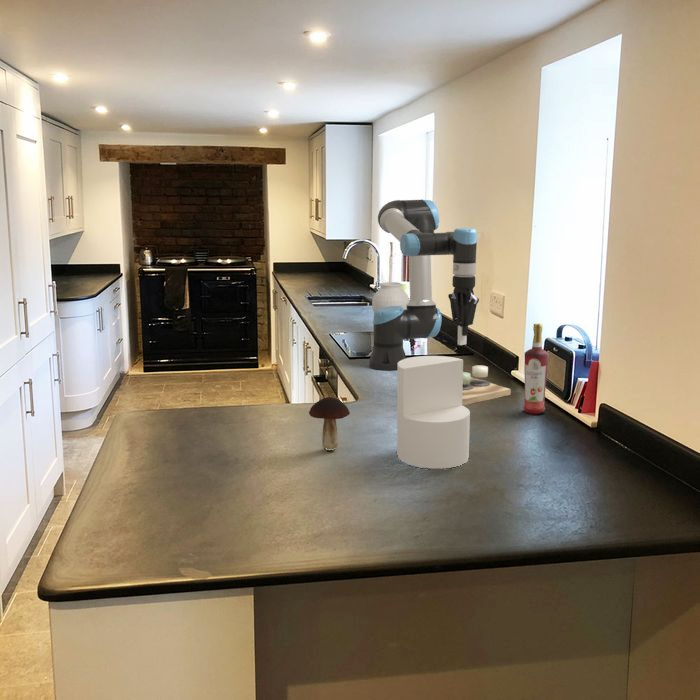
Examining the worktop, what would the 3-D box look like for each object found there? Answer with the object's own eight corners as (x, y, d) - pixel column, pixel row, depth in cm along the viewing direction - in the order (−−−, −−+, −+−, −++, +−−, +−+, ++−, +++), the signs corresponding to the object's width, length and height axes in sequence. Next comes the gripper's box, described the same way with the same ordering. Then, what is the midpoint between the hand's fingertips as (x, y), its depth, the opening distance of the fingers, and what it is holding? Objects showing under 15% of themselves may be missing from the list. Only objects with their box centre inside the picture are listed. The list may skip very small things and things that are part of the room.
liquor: (547, 410, 227) (552, 323, 221) (543, 416, 220) (548, 327, 214) (524, 407, 230) (528, 321, 224) (519, 414, 223) (523, 325, 217)
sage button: (451, 381, 247) (451, 373, 246) (463, 379, 250) (463, 371, 249) (461, 385, 242) (461, 376, 242) (473, 382, 245) (473, 374, 245)
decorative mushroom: (355, 446, 197) (355, 393, 194) (342, 460, 187) (341, 404, 184) (318, 442, 201) (317, 390, 197) (303, 455, 190) (301, 401, 187)
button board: (414, 391, 250) (414, 384, 249) (466, 380, 262) (466, 374, 262) (456, 406, 231) (457, 399, 231) (510, 394, 244) (510, 387, 244)
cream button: (468, 375, 251) (468, 366, 250) (480, 372, 254) (480, 364, 253) (479, 378, 246) (479, 369, 246) (491, 376, 249) (491, 367, 249)
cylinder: (385, 450, 194) (385, 360, 188) (445, 440, 201) (446, 353, 196) (418, 474, 177) (419, 376, 172) (482, 462, 184) (485, 368, 179)
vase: (410, 338, 337) (410, 285, 331) (372, 339, 337) (372, 286, 331) (408, 331, 354) (408, 280, 348) (371, 331, 354) (371, 281, 349)
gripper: (442, 274, 242) (441, 342, 248) (468, 278, 232) (466, 349, 237) (459, 272, 246) (457, 339, 252) (486, 276, 235) (483, 346, 241)
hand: (461, 344), depth 244 cm, fingers closed
